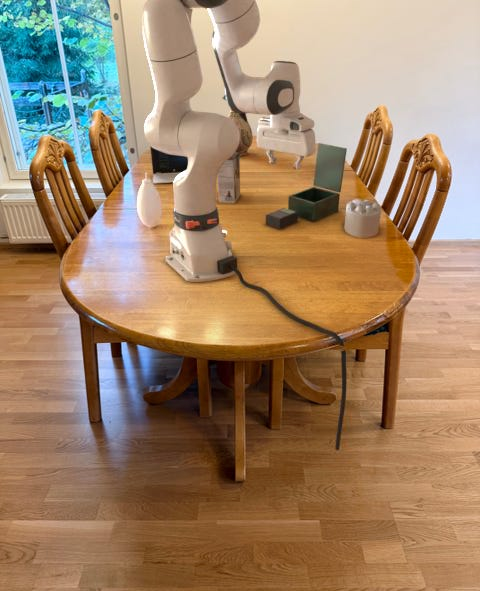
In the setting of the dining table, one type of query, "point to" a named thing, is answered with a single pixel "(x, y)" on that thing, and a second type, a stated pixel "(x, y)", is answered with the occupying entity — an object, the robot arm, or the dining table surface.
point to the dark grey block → (281, 218)
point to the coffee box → (229, 180)
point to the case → (314, 203)
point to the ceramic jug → (241, 131)
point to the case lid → (329, 167)
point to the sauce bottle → (149, 204)
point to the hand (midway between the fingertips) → (284, 166)
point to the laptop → (166, 166)
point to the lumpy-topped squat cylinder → (362, 218)
